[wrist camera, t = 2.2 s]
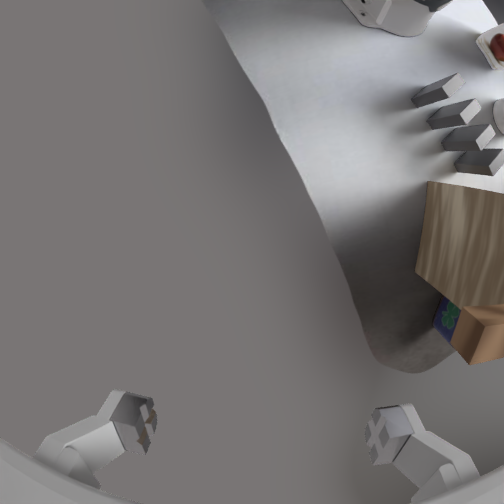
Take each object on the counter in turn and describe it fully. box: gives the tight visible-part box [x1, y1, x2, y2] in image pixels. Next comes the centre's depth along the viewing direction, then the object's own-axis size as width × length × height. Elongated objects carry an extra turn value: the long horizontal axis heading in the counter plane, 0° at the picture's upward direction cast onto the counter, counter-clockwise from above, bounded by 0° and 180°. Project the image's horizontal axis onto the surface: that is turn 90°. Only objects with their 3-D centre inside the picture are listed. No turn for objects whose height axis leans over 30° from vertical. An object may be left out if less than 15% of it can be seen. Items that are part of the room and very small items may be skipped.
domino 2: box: [427, 98, 482, 130], centre depth 33 cm, size 2×5×10 cm, turn 132°
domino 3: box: [441, 124, 495, 151], centre depth 34 cm, size 2×5×10 cm, turn 133°
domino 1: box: [411, 73, 465, 108], centre depth 32 cm, size 2×5×10 cm, turn 132°
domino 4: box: [454, 149, 504, 176], centre depth 35 cm, size 2×5×10 cm, turn 132°
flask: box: [432, 295, 461, 349], centre depth 42 cm, size 9×3×11 cm, turn 166°
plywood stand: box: [415, 181, 504, 310], centre depth 31 cm, size 14×16×26 cm
